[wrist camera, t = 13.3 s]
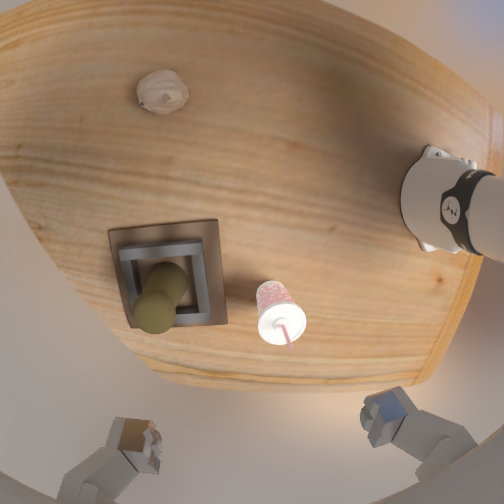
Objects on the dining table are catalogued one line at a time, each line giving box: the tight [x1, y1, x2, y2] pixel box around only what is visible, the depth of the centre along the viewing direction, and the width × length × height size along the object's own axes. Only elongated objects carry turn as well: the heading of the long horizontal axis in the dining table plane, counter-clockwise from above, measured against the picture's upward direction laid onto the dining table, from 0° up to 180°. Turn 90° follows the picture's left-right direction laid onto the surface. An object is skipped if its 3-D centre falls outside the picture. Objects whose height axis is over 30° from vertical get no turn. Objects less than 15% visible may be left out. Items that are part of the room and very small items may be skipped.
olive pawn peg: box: [132, 262, 188, 334], centre depth 33 cm, size 6×6×11 cm
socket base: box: [109, 220, 228, 328], centre depth 38 cm, size 16×16×4 cm
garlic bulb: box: [137, 69, 189, 115], centre depth 28 cm, size 7×6×8 cm
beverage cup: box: [256, 280, 306, 351], centre depth 35 cm, size 6×6×14 cm
